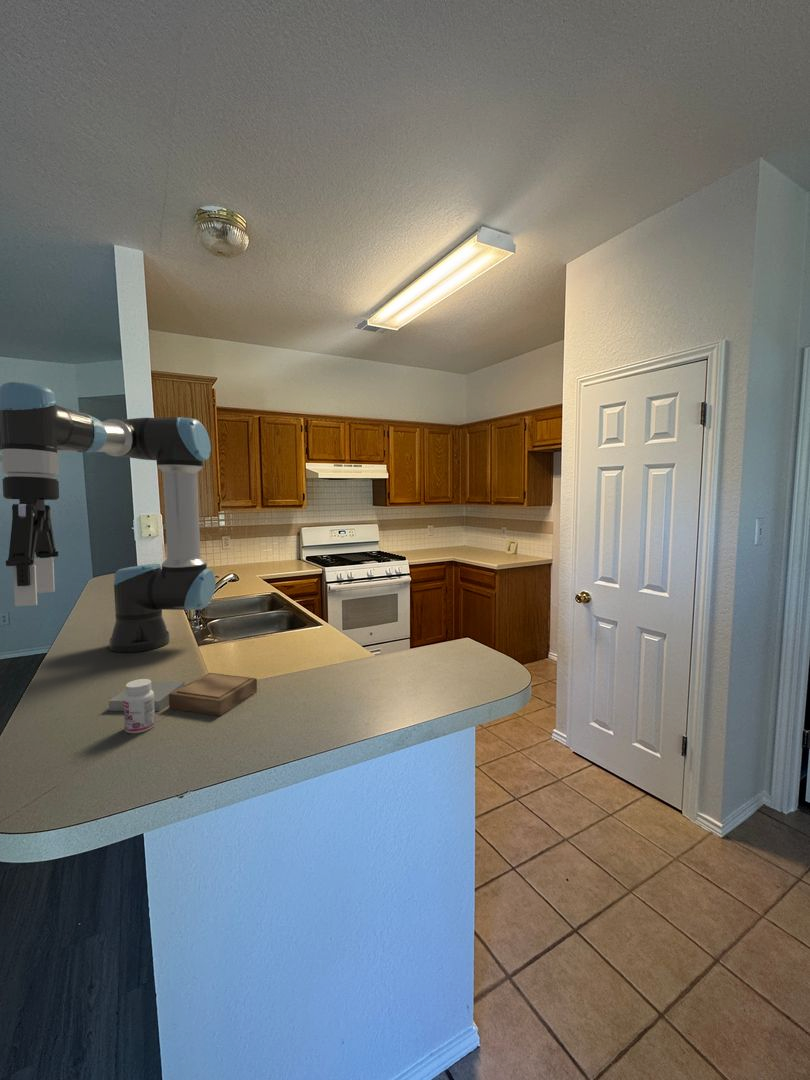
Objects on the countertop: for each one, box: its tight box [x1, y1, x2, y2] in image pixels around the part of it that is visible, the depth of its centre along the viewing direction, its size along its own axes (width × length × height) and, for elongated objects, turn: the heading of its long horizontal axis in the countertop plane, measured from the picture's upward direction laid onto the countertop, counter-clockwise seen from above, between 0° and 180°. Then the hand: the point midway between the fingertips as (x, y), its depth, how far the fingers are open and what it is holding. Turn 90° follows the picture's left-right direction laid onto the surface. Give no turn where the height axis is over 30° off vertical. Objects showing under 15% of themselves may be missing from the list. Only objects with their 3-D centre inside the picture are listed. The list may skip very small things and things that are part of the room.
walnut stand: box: [168, 672, 258, 717], centre depth 95 cm, size 12×12×3 cm
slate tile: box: [108, 681, 186, 712], centre depth 94 cm, size 10×10×2 cm
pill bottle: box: [123, 678, 156, 734], centre depth 82 cm, size 5×5×8 cm
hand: (36, 598), depth 80 cm, fingers open, 13 cm apart
